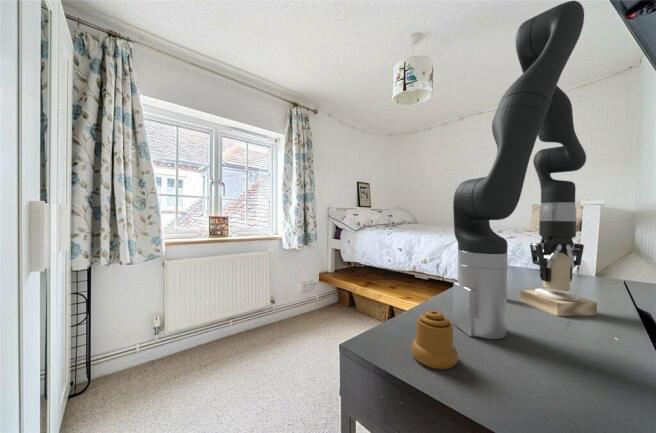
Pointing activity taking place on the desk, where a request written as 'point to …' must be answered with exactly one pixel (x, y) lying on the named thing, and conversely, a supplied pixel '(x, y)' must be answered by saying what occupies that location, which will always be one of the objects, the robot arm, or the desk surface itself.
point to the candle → (559, 273)
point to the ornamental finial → (434, 341)
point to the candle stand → (558, 302)
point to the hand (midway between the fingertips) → (556, 280)
